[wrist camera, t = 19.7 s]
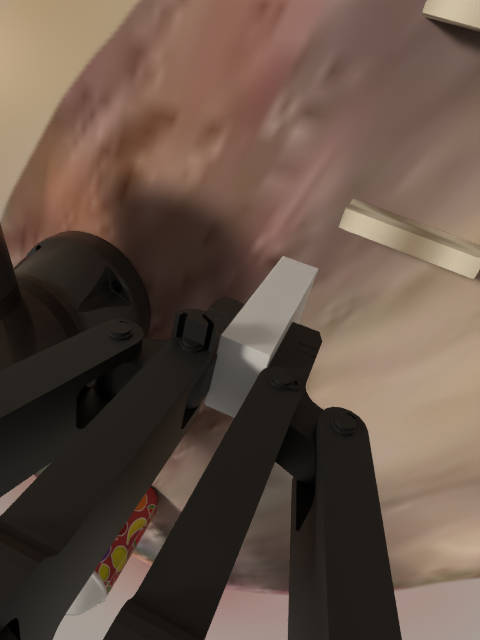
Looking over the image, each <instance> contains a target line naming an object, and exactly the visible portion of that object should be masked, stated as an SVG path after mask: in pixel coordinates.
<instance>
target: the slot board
mask: <svg viewBox="0 0 480 640" xmlns="http://www.w3.org/2000/svg"><path fill="white" fill-rule="evenodd" d="M422 13H423V15H424V16H425V17H426V18H430V19H434V20H437V21H441V22H445V23H448V24H452V25H455V26H459V27H463V28H466V29H470V30H474V31H477V32H480V0H427V1H426V4H425V6H424V9H423V12H422ZM339 228H341V229H344V230H347V231H349V232H352V233H354V234H357V235H360V236H362V237H365V238H367V239H370V240H373V241H375V242H378V243H380V244H383V245H386V246H388V247H391V248H393V249H396V250H399V251H401V252H404V253H406V254H409V255H412V256H414V257H417V258H419V259H422V260H425V261H427V262H430V263H432V264H435V265H438V266H440V267H443V268H445V269H448V270H451V271H453V272H456V273H458V274H461V275H464V276H466V277H469V278H471V279H474V278H475V276H476V275H477V273H478V272H479V270H480V245H478V244H475V243H472V242H470V241H467V240H464V239H462V238H459V237H456V236H453V235H451V234H448V233H445V232H443V231H440V230H437V229H434V228H432V227H429V226H426V225H424V224H421V223H418V222H416V221H413V220H410V219H407V218H405V217H402V216H399V215H397V214H394V213H391V212H388V211H386V210H383V209H380V208H378V207H375V206H372V205H369V204H367V203H364V202H361V201H359V200H356V199H353V200H352V201H351V202H350V204H349V205H348V206H347V208H346V209H345V212H344V215H343V217H342V220H341V222H340V225H339Z"/></svg>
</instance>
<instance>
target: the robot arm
mask: <svg viewBox="0 0 480 640" xmlns="http://www.w3.org/2000/svg"><path fill="white" fill-rule="evenodd" d="M317 271H318V268H315V267H312V266H309V265H306V264H304V263H301V262H298V261H295V260H293V259H290V258H287V257H284V256H283V257H282V258H281V259H280V260H279V262H278V263H277V264H276V266H275V267H274V268H273V269H272V271H271V272H270V273H269V275H268V276H267V277H266V278H265V280H264V281H263V282H262V283H261V285H260V286H259V287H258V289H257V290H256V291H255V292H254V294H253V295H252V296H251V298H250V299H249V300H248V301H247V303H246V304H243V303H240V302H238V301H235V300H233V299H230V298H227V297H225V298H222V299H220V300H217V301H215V302H214V303H213V304H212V305H211V306H210V308H209V309H208V310H207V311H206V312H204V311H201V310H197V309H186V310H181V311H180V312H178V313H176V315H175V321H174V327H173V333H172V337H171V338H170V339H169V340H168V341H162V340H154V339H149V338H145V337H146V335H147V332H148V329H149V324H150V308H149V302H148V298H147V294H146V291H145V289H144V286H143V284H142V282H141V280H140V278H139V276H138V274H137V273H136V271H135V270H134V268H133V267H132V266H131V264H130V263H129V262H128V261H127V259H126V258H125V257H124V256H123V255H122V254H121V253H120V252H119V251H118V250H117V249H115V248H114V247H113V246H112V245H110V244H109V243H107V242H106V241H104V240H102V239H101V238H99V237H97V236H94V235H92V234H89V233H85V232H80V231H66V232H62V233H59V234H56V235H54V236H52V237H49V238H47V239H45V240H43V241H41V242H40V243H38V244H37V245H36V246H34V248H33V249H32V250H31V251H30V252H29V253H28V255H27V256H26V257H25V258H24V259H23V260H22V261H21V262H20V263H18V265H17V266H16V267H15V268H13V265H12V262H11V259H10V255H9V252H8V249H7V245H6V242H5V238H4V235H3V231H2V227H1V224H0V497H1V496H3V495H4V494H6V493H7V492H9V491H10V490H12V489H13V488H15V487H16V486H17V485H19V484H20V483H22V482H23V481H25V480H26V479H28V478H29V477H31V476H32V475H33V474H35V473H36V472H38V471H39V470H41V469H42V468H44V467H45V466H46V465H48V464H49V463H51V462H52V461H53V462H52V463H51V464H50V465H49V466H48V467H47V468H46V469H45V470H44V471H43V472H42V473H41V474H40V475H39V476H38V478H37V479H36V480H35V481H34V482H33V483H32V484H31V485H30V486H29V487H28V488H27V489H26V490H25V491H24V492H23V493H22V494H21V495H20V497H19V498H17V500H16V501H15V502H14V503H13V504H12V505H11V506H10V507H9V508H8V509H7V510H6V511H5V512H4V513H3V514H2V515H1V516H0V640H52V639H53V637H54V635H55V632H56V630H57V628H58V626H59V624H60V622H61V621H62V619H63V617H64V616H65V614H66V613H67V611H68V610H69V608H70V607H71V605H72V604H73V602H74V601H75V599H76V598H77V596H78V595H79V593H80V592H81V590H82V589H83V587H84V586H85V584H86V583H87V581H88V580H89V578H90V577H91V575H92V574H93V572H94V571H95V569H96V567H97V566H98V564H99V563H100V561H101V560H102V558H103V557H104V555H105V554H106V552H107V551H108V549H109V548H110V546H111V545H112V543H113V542H114V540H115V539H116V537H117V536H118V534H119V533H120V531H121V530H122V528H123V527H124V525H125V524H126V522H127V521H128V519H129V518H130V516H131V515H132V513H133V512H134V510H135V509H136V507H137V506H138V504H139V503H140V501H141V500H142V498H143V497H144V495H145V494H146V492H147V491H148V489H149V488H150V486H151V485H152V483H153V482H154V480H155V478H156V477H157V475H158V474H159V472H160V471H161V469H162V468H163V466H164V465H165V463H166V462H167V460H168V459H169V457H170V456H171V454H172V453H173V451H174V450H175V448H176V447H177V445H178V444H179V442H180V441H181V439H182V438H183V436H184V435H185V433H186V432H187V430H188V429H189V427H190V426H191V424H192V423H193V421H194V420H195V418H196V417H197V415H198V412H199V408H200V404H201V402H202V400H203V399H204V397H205V396H206V400H205V404H204V405H206V406H208V407H211V408H213V409H215V410H217V411H220V412H222V413H224V414H227V415H229V416H231V417H233V418H234V420H233V422H232V423H231V425H230V427H229V429H228V431H227V432H226V434H225V436H224V438H223V439H222V441H221V443H220V445H219V447H218V448H217V450H216V452H215V454H214V455H213V457H212V459H211V461H210V463H209V464H208V466H207V468H206V470H205V472H204V473H203V475H202V477H201V479H200V480H199V482H198V484H197V486H196V488H195V489H194V491H193V493H192V495H191V496H190V498H189V500H188V502H187V504H186V505H185V507H184V509H183V511H182V512H181V514H180V516H179V518H178V520H177V521H176V523H175V525H174V527H173V528H172V530H171V532H170V534H169V536H168V537H167V539H166V541H165V543H164V545H163V546H162V548H161V550H160V552H159V553H158V555H157V557H156V559H155V561H154V562H153V564H152V566H151V568H150V570H149V571H148V573H147V575H146V577H145V578H144V580H143V582H142V584H141V586H140V587H139V589H138V591H137V592H136V594H135V595H134V596H133V598H131V599H129V600H128V601H127V602H126V603H125V604H124V606H123V607H122V608H121V610H120V612H119V613H118V615H117V616H116V618H115V620H114V622H113V623H112V625H111V627H110V628H109V630H108V632H107V634H106V635H105V637H104V639H103V640H204V639H205V637H206V634H207V631H208V629H209V627H210V624H211V621H212V619H213V617H214V614H215V611H216V609H217V606H218V604H219V601H220V599H221V596H222V594H223V591H224V589H225V586H226V584H227V581H228V579H229V576H230V574H231V571H232V569H233V566H234V564H235V561H236V559H237V556H238V554H239V551H240V549H241V546H242V543H243V541H244V538H245V536H246V533H247V531H248V528H249V526H250V523H251V521H252V518H253V516H254V513H255V511H256V508H257V506H258V503H259V501H260V498H261V496H262V493H263V491H264V488H265V485H266V483H267V480H268V478H269V475H270V473H271V470H272V468H273V465H274V463H275V462H276V463H278V464H279V465H280V466H281V467H283V468H284V469H285V470H286V471H287V472H289V473H290V474H291V475H292V476H293V479H292V500H291V539H290V577H289V617H288V640H402V638H401V632H400V626H399V620H398V613H397V607H396V601H395V595H394V589H393V583H392V576H391V570H390V564H389V558H388V552H387V546H386V539H385V533H384V527H383V521H382V515H381V509H380V503H379V496H378V490H377V484H376V478H375V472H374V466H373V459H372V453H371V447H370V441H369V435H368V430H367V428H366V425H365V423H364V422H363V421H362V420H361V418H360V417H359V416H357V415H356V414H354V413H353V412H351V411H349V410H347V409H344V408H340V407H330V408H326V409H325V410H323V409H321V408H320V407H319V406H317V405H316V404H315V403H314V402H313V401H312V400H311V399H310V398H309V396H308V394H307V392H306V382H307V379H308V377H309V374H310V372H311V369H312V366H313V364H314V361H315V359H316V356H317V354H318V351H319V349H320V346H321V343H322V339H321V336H320V332H318V331H315V330H313V329H310V328H308V327H305V326H303V325H300V324H299V322H300V320H301V317H302V314H303V311H304V308H305V305H306V302H307V300H308V297H309V294H310V291H311V288H312V285H313V283H314V280H315V277H316V274H317ZM206 394H207V395H206Z"/></svg>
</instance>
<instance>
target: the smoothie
mask: <svg viewBox="0 0 480 640" xmlns="http://www.w3.org/2000/svg"><path fill="white" fill-rule="evenodd" d="M157 502H158V499H157V496H156V493H155V492H154V490H153V489H152V488H151V487H150V488H149V489H148V491H147V492H146V494H145V495H144V497H143V498H142V500H141V501H140V503H139V504H138V506H137V507H136V509H135V510H134V512H133V513H132V515H131V516H130V518H129V519H128V521H127V522H126V524H125V525H124V527H123V528H122V530H121V531H120V533H119V534H118V536H117V537H116V539H115V540H114V542H113V543H112V545H111V546H110V548H109V549H108V551H107V552H106V554H105V555H104V557H103V558H102V560H101V561H100V563H99V564H98V566H97V567H96V569H95V571H94V572H93V574H92V575H91V577H90V578H89V580H88V581H87V583H86V584H85V586H84V587H83V589H82V590H81V592H80V593H79V595H78V596H77V598H76V599H75V601H74V602H73V604H72V605H71V607H70V608H69V610H68V611H67V613H66V614H65V615H78V614H82V613H84V612H86V611H88V610H90V609H92V608H93V607H95V606H96V605H97V604H100V603H102V602H104V601H105V599H106V597H107V595H108V593H109V592H110V590H111V588H112V587H113V585H114V583H115V582H116V580H117V578H118V576H119V575H120V573H121V571H122V570H123V568H124V566H125V564H126V563H127V561H128V559H129V558H130V556H131V554H132V553H133V551H134V549H135V547H136V546H137V544H138V542H139V541H140V539H141V537H142V535H143V534H144V532H145V530H146V529H147V527H148V525H149V523H150V522H151V520H152V518H153V517H154V515H155V513H156V505H157Z"/></svg>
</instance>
